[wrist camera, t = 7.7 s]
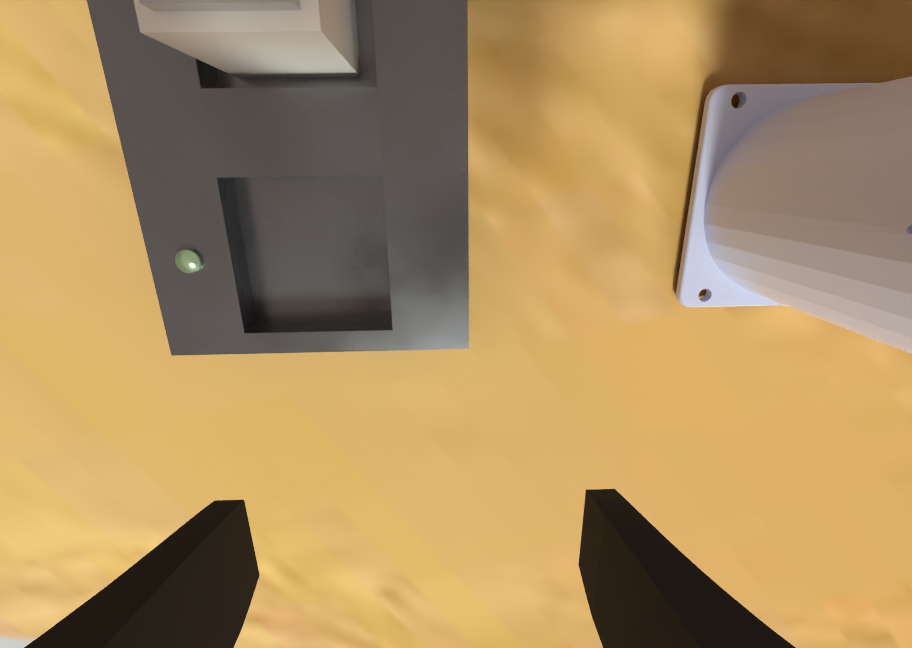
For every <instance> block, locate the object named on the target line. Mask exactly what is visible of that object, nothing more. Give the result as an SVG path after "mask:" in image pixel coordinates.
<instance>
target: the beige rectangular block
mask: <svg viewBox="0 0 912 648" xmlns="http://www.w3.org/2000/svg"><path fill="white" fill-rule="evenodd" d="M134 5H135V10H136V15H137V19H138V24H139V29H140V33H142V34H144V35H147V36H149V37H151V38H153V39H155V40H157V41H159V42H162V43H164V44H166V45H168V46H170V47H172V48H175V49H177V50H179V51H181V52H183V53H185V54H188V55H190V56H192V57H194V58H196V59H198V60H200V61H203V62H205V63H207V64H209V65H211V66H213V67H216V68H218V69H220V70H222V71H224V72H226V73H229V74H231V75H233V76H235V77H237V78H308V77H361V76H360V63H359V49H358V36H357V22H356V8H355V0H134Z"/></svg>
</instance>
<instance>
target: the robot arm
mask: <svg viewBox="0 0 912 648" xmlns="http://www.w3.org/2000/svg"><path fill="white" fill-rule="evenodd" d="M735 94H737V95H738V97H739V104H738V106H737V107H736V108H734V107H733V106H732V103H731V100H732V97H733V95H735ZM703 289H706V294H705V296H704V297H703V298H701V299H699V296H698V295H699V293H700V292H701V291H702V290H703ZM676 299H677V300H678V302H679V303H681V304H682V305H684V306H687V307H720V306H769V305H786V306H789V307H791V308H794V309H796V310H799V311H802V312H804V313H807V314H809V315H812V316H815V317H817V318H820V319H822V320H825V321H828V322H830V323H833V324H835V325H838V326H841V327H843V328H846V329H848V330H851V331H853V332H856V333H859V334H861V335H864V336H866V337H869V338H872V339H874V340H877V341H879V342H882V343H885V344H887V345H890V346H892V347H895V348H897V349H900V350H903V351H905V352H908V353H910V354H912V76H910V77H906V78H901V79H896V80H891V81H886V82H882V83H818V84H726V85H722V86H718V87H716V88H714V89H713V90H711V91H710V92H709V94H708V95H707V97H706V100H705V104H704V111H703V118H702V124H701V131H700V138H699V144H698V151H697V157H696V164H695V171H694V177H693V184H692V190H691V197H690V204H689V210H688V217H687V224H686V230H685V237H684V243H683V250H682V257H681V263H680V270H679V276H678V283H677V290H676ZM579 568H580V572H581V576H582V580H583V584H584V588H585V592H586V596H587V600H588V603H589V607H590V611H591V614H592V618H593V621H594V623H595V626H596V629H597V632H598V634H599V637H600V640H601V643H602V645H603V648H795V647H794V646H793V645H791V644H790V643H789V642H787V641H786V640H785V639H783V638H782V637H781V636H779V635H778V634H777V633H776V632H774V631H773V630H772V629H771V628H769V627H768V626H767V625H765V624H764V623H763V622H762V621H760V620H759V619H758V618H757V617H756V616H754V615H753V614H752V613H751V612H749V611H748V610H747V609H746V608H745V607H743V606H742V605H741V604H740V603H739V602H737V601H736V600H735V599H734V598H733V597H731V596H730V595H729V594H728V593H727V592H725V591H724V590H723V589H722V588H721V587H720V586H718V585H717V584H716V583H715V582H714V581H713V580H711V579H710V578H709V577H708V576H707V575H706V574H705V573H703V572H702V571H701V570H700V569H699V568H698V567H697V566H696V565H695V564H693V563H692V562H691V561H690V560H689V559H688V558H687V557H686V556H685V555H684V554H682V553H681V552H680V551H679V550H678V549H677V548H676V547H675V546H674V545H673V544H672V543H671V542H669V541H668V540H667V539H666V538H665V537H664V536H663V535H662V534H661V533H660V532H659V531H658V530H657V529H656V528H655V527H654V526H653V525H652V524H650V523H649V522H648V521H647V520H646V519H645V518H644V517H643V516H642V515H641V514H640V513H639V512H638V511H637V510H636V509H635V508H634V507H633V506H632V505H631V504H630V503H629V502H628V501H627V500H626V499H625V498H624V497H623V496H621V495H620V494H619V493H618V492H617V491H616V490H615V489H600V490H586V496H585V506H584V516H583V526H582V536H581V547H580V557H579ZM258 578H259V571H258V566H257V561H256V556H255V551H254V546H253V541H252V537H251V532H250V527H249V522H248V517H247V512H246V507H245V502H244V500H222V501H214V502H212V503H211V504H210V505H208V506H207V507H206V508H204V509H203V510H202V511H200V512H199V513H198V514H197V515H195V516H194V517H193V518H192V519H190V520H189V521H188V522H187V523H185V524H184V525H183V526H182V527H180V528H179V529H178V530H177V531H175V532H174V533H173V534H172V535H170V536H169V537H168V538H167V539H166V540H164V541H163V542H162V543H161V544H159V545H158V546H157V547H156V548H154V549H153V550H152V551H151V552H149V553H148V554H147V555H146V556H144V557H143V558H142V559H141V560H139V561H138V562H137V563H136V564H134V565H133V566H132V567H131V568H129V569H128V570H127V571H126V572H124V573H123V574H122V575H121V576H119V577H118V578H117V579H115V580H114V581H113V582H112V583H110V584H109V585H108V586H107V587H105V588H104V589H103V590H101V591H100V592H99V593H97V594H96V595H95V596H93V597H92V598H91V599H89V600H88V601H87V602H85V603H84V604H83V605H81V606H80V607H79V608H77V609H76V610H75V611H73V612H72V613H71V614H69V615H68V616H67V617H65V618H64V619H63V620H61V621H60V622H59V623H57V624H56V625H55V626H53V627H52V628H51V629H49V630H48V631H47V632H45V633H44V634H43V635H41V636H40V637H38V638H37V639H36V640H34V641H33V642H31V643H30V644H29V645H27V646H26V647H24V648H233V647H234V645H235V643H236V640H237V638H238V636H239V634H240V631H241V629H242V626H243V623H244V621H245V618H246V615H247V612H248V609H249V606H250V603H251V600H252V597H253V594H254V590H255V587H256V584H257V581H258Z"/></svg>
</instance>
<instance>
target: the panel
mask: <svg viewBox="0 0 912 648" xmlns="http://www.w3.org/2000/svg"><path fill="white" fill-rule="evenodd" d="M87 3H88V7H89V11H90V15H91V20H92V24H93V28H94V32H95V36H96V41H97V45H98V49H99V53H100V57H101V62H102V66H103V70H104V74H105V78H106V82H107V87H108V91H109V95H110V99H111V103H112V108H113V112H114V116H115V120H116V124H117V129H118V133H119V137H120V141H121V145H122V150H123V154H124V158H125V162H126V166H127V170H128V175H129V179H130V183H131V187H132V191H133V196H134V200H135V204H136V208H137V212H138V217H139V221H140V225H141V229H142V233H143V238H144V242H145V246H146V250H147V254H148V259H149V263H150V267H151V271H152V275H153V279H154V284H155V288H156V292H157V296H158V300H159V305H160V309H161V313H162V317H163V321H164V326H165V330H166V334H167V338H168V342H169V347H170V351H171V355H210V354H255V353H299V352H344V351H388V350H433V349H469V271H468V49H467V0H355V8H356V22H357V36H358V49H359V63H360V76H361V77H308V78H237V77H235V76H233V75H231V74H229V73H226V72H224V71H222V70H220V69H218V68H216V67H213V66H211V65H209V64H207V63H205V62H203V61H200V60H198V59H196V58H194V57H192V56H190V55H188V54H185V53H183V52H181V51H179V50H177V49H175V48H172V47H170V46H168V45H166V44H164V43H162V42H159V41H157V40H155V39H153V38H151V37H149V36H147V35H144V34H142V33H140V29H139V24H138V19H137V15H136V10H135V5H134V0H87Z"/></svg>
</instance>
